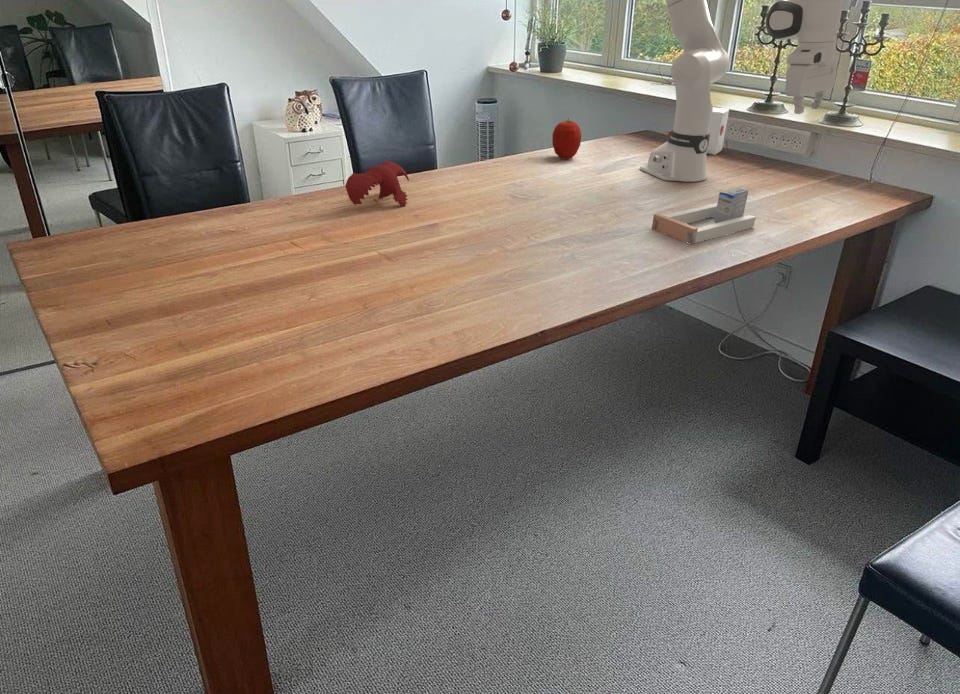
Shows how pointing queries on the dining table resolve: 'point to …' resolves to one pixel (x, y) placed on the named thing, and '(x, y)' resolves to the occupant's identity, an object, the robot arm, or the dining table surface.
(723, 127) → the supplement box
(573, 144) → the apple
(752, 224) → the shallow open rectangular tray
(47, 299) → the dining table surface
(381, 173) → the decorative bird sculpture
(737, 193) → the medicine box
